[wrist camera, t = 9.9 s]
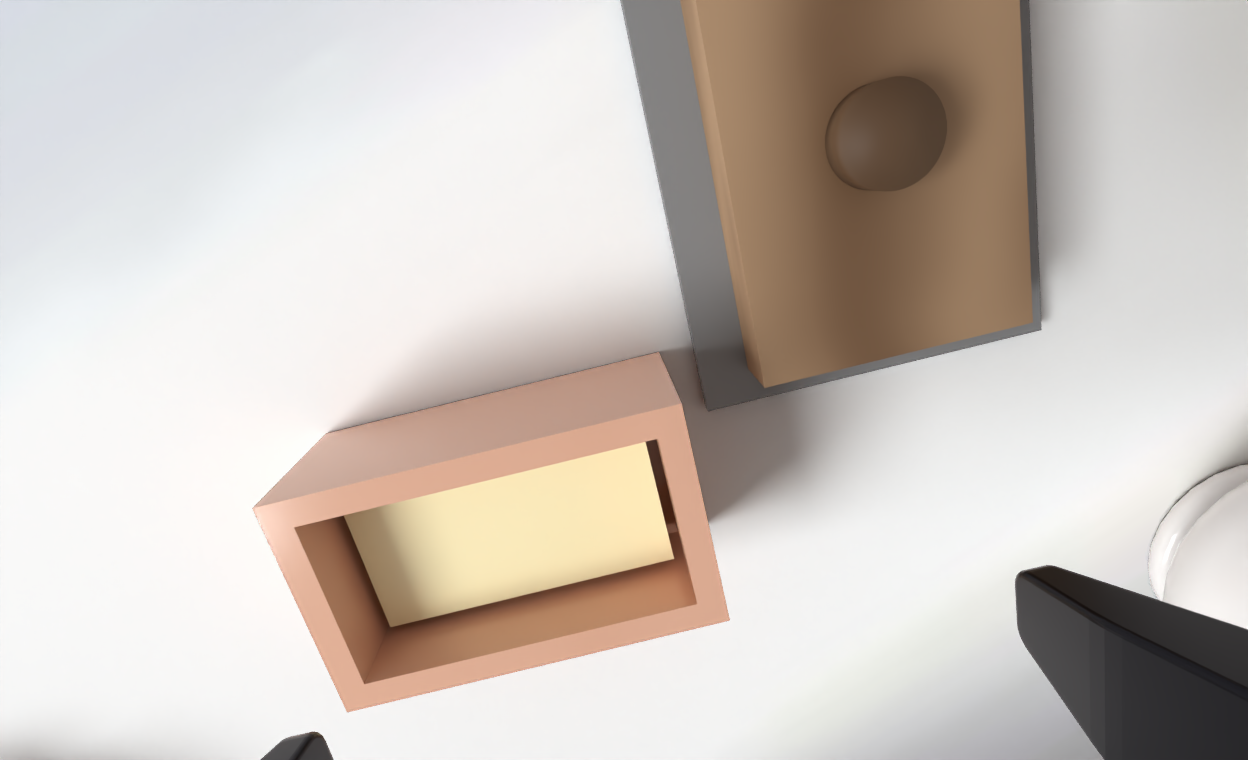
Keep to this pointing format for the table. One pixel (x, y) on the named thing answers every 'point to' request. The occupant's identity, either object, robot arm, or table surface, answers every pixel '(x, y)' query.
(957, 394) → the table surface
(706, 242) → the mat
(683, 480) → the dish
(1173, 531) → the flower vase
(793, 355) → the lid
